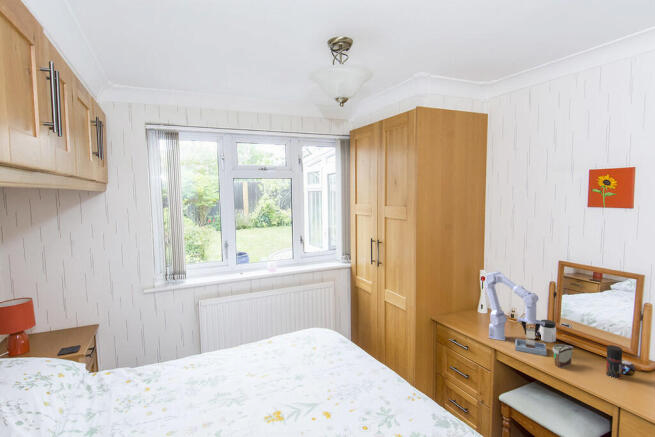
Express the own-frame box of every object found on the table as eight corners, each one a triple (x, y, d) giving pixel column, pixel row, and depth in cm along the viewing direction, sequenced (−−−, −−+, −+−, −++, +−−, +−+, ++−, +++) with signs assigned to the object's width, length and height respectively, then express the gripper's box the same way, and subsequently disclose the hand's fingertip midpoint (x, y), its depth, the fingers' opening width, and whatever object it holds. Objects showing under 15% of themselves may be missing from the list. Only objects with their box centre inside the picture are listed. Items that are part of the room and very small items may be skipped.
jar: (549, 343, 210) (550, 325, 210) (537, 338, 218) (537, 321, 217) (558, 340, 214) (558, 322, 213) (545, 335, 222) (545, 318, 221)
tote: (515, 350, 203) (515, 345, 203) (515, 343, 213) (515, 338, 213) (546, 356, 195) (546, 351, 195) (545, 348, 205) (545, 343, 204)
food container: (561, 358, 192) (562, 342, 191) (572, 363, 186) (573, 346, 185) (546, 363, 187) (547, 346, 187) (557, 368, 182) (558, 351, 181)
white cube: (526, 337, 203) (526, 330, 202) (526, 334, 206) (526, 327, 206) (534, 339, 200) (535, 331, 200) (534, 336, 204) (534, 329, 204)
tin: (525, 349, 204) (525, 342, 203) (525, 346, 208) (525, 339, 207) (535, 351, 201) (535, 343, 201) (534, 347, 205) (534, 340, 205)
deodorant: (619, 379, 169) (620, 351, 168) (604, 375, 174) (605, 347, 173) (622, 375, 173) (623, 348, 171) (608, 371, 177) (609, 344, 176)
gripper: (517, 313, 202) (516, 335, 203) (545, 317, 195) (545, 339, 196) (517, 309, 209) (516, 330, 210) (544, 313, 201) (544, 334, 202)
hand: (530, 334), depth 203 cm, fingers closed on white cube, 4 cm apart
